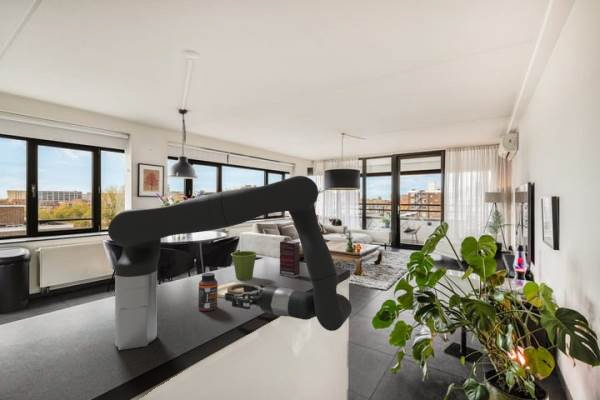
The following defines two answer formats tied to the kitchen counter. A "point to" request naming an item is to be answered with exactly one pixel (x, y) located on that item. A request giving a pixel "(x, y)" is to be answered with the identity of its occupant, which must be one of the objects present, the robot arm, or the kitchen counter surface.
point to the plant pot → (244, 264)
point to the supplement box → (290, 258)
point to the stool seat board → (231, 289)
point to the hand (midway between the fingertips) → (235, 292)
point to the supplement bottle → (207, 292)
